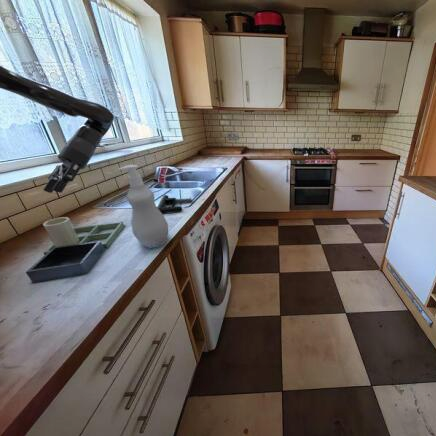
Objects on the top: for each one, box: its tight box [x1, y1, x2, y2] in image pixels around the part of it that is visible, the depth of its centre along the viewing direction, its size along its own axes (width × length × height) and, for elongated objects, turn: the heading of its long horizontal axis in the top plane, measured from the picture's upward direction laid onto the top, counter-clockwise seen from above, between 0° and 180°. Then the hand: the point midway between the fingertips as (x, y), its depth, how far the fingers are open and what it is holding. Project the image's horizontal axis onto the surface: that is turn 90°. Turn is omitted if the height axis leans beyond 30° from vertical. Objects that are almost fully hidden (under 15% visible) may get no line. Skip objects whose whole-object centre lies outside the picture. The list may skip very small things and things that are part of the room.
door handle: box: [156, 194, 193, 214], centre depth 118 cm, size 3×20×16 cm
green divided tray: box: [42, 221, 125, 256], centre depth 88 cm, size 18×18×2 cm
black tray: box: [25, 240, 106, 283], centre depth 74 cm, size 14×14×4 cm
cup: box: [42, 216, 81, 247], centre depth 82 cm, size 7×7×11 cm
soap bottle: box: [117, 164, 169, 249], centre depth 81 cm, size 17×12×29 cm
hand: (51, 191), depth 77 cm, fingers open, 8 cm apart
